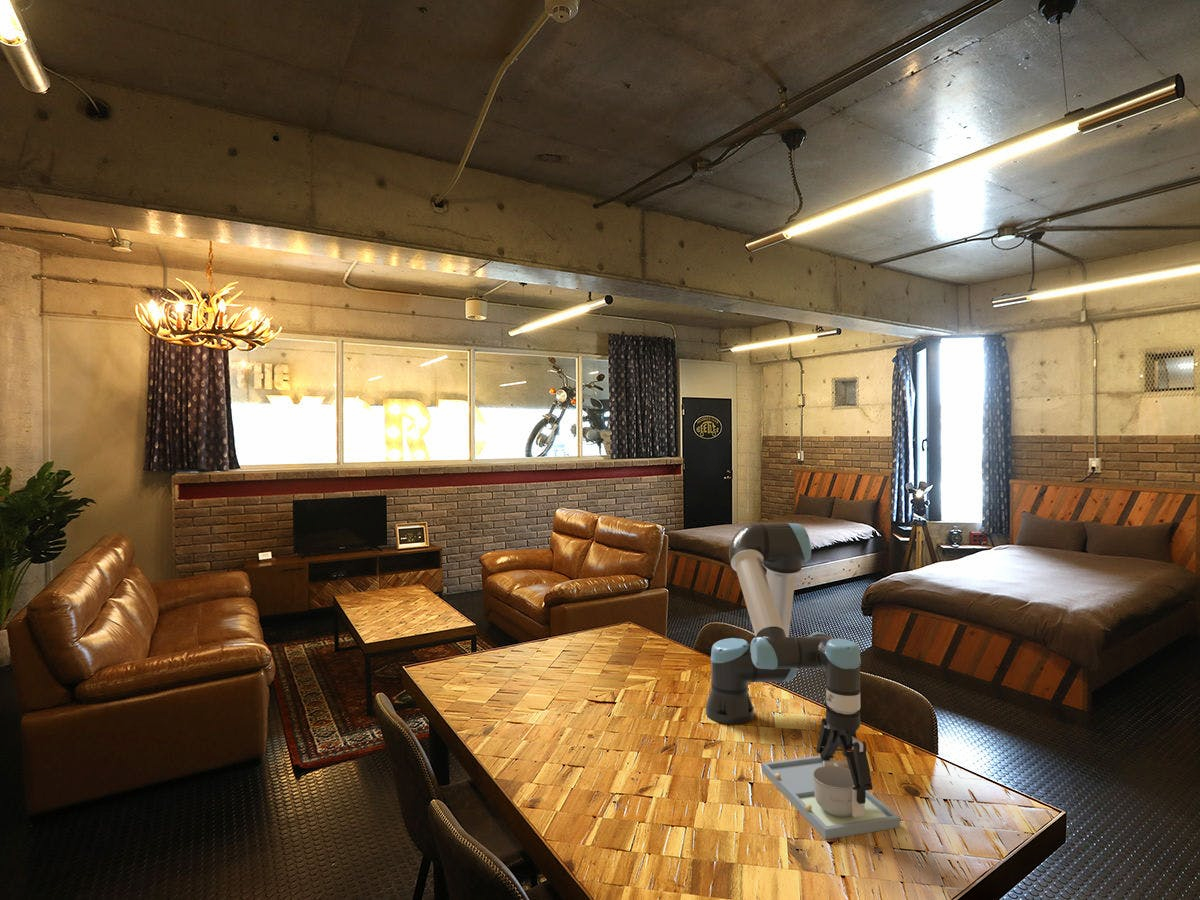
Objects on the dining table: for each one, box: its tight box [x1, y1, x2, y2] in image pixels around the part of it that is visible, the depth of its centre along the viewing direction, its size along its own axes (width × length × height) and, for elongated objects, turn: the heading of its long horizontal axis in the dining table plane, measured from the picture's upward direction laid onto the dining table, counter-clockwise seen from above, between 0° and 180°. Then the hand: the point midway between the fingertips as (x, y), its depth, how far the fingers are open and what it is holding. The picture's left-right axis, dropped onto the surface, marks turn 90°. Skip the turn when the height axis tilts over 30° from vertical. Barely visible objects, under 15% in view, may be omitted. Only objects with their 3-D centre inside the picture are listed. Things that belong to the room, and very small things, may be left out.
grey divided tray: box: [761, 755, 901, 840], centre depth 151 cm, size 29×19×3 cm, turn 13°
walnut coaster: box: [834, 757, 849, 769], centre depth 165 cm, size 7×7×1 cm
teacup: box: [813, 766, 855, 817], centre depth 145 cm, size 14×11×8 cm
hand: (842, 800), depth 145 cm, fingers closed on teacup, 11 cm apart
